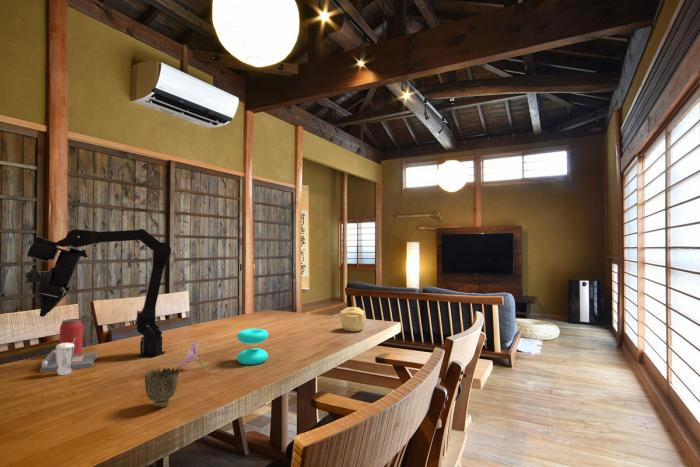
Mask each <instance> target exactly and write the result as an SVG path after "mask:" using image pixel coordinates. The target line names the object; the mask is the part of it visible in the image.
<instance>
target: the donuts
mask: <svg viewBox="0 0 700 467" xmlns="http://www.w3.org/2000/svg"><path fill="white" fill-rule="evenodd" d="M268 337H269V333H268V331H267V330H265V329H263V328H262V329H261V328H248V329H243V330H241V331H239V332H237V335H236V338H237V340H238V341H239V342H240V343H242V344H245V345H246V344H247V345H249V344H250V345H254V344H260V343H263V342H265V341H266V340H267V339H268ZM268 358H269V354H268V352H267V351H266V350H264V349H262V348H255V347H254V348H246V349H244V350H241V351H240V352H238V354H237V355H236V360H237V362H238V363H239V364H242V365H246V366H248V365H249V366H250V365H251V366H252V365H259V364H262V363H265V362H266V361H267V359H268Z"/></svg>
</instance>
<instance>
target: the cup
mask: <svg viewBox="0 0 700 467" xmlns="http://www.w3.org/2000/svg"><path fill="white" fill-rule="evenodd" d="M175 369H176V368H175V367H173V368H172V369H171V368H170V367H167V368H166V367H163V369H162V370H160V368H158V369H157V371H156V370H153V369H151V370H150V371H147V372H146V374H143V375H144V385H145V393H146V396H147V398H148V399H149V400H150V401H152V406H153V407H154V408H156V409H161V408H165V407H167V406H168V405H169V404H170V403H171V400H170V399H171V398H172V397H173V396H174V394H175V393H176V391H177V386H178V380H179V379H178V378H179V369H178V368H177V369H176V370H175Z"/></svg>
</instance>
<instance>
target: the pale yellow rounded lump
mask: <svg viewBox="0 0 700 467" xmlns="http://www.w3.org/2000/svg"><path fill="white" fill-rule="evenodd" d="M365 313H366V312H365V310H363V309H362V308H361V307H360V306H359V307H356V306H350V307H349V306H347V307H346V308H344V309H342V310H340V320H339V321H340V324H341V326H342V328H343V330H344V331H347V332H359V331H362V330H364V328H365V326H366V321H367V318H366V315H365Z"/></svg>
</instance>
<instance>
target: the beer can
mask: <svg viewBox="0 0 700 467" xmlns="http://www.w3.org/2000/svg"><path fill="white" fill-rule="evenodd" d="M83 330H84V326H83V322H82V319H81V318H69V319H64V320H61V324H60V327H59V344H61V343H73V341H74V338H76V339H75V341H74V352H73V354H81V353H82V352H83V335H84V332H83Z"/></svg>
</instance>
